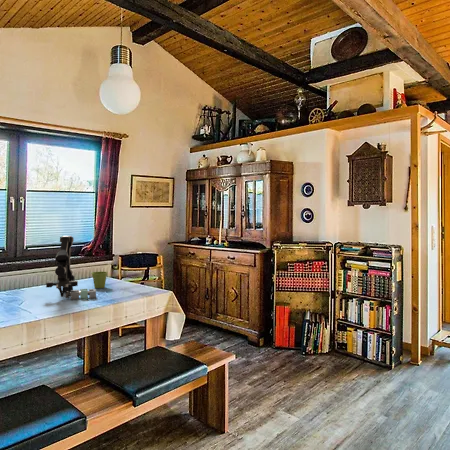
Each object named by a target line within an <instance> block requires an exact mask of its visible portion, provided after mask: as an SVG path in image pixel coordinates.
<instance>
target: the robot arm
mask: <svg viewBox="0 0 450 450" xmlns="http://www.w3.org/2000/svg"><path fill="white" fill-rule="evenodd" d="M74 241H75V240H74V236H72V235H62V236H61V237H60V236H59V243H60V248H59V251H58V252H57V253H56V256H55V262H54V266H57V267H56V269H55V270H54V273H55V274H56V276H57V280H56V282H54V280H53V281H47V282H46V283H45V288H52V287H55V289H58V291H59V294H60V297H61V298H63V296H64V294H65V293H66V291H69V292H71V290H74V287H78V286H79V285H78V280H76V279H75V275H74V274H73V271H72V269H71V247H72V246H73V243H74Z"/></svg>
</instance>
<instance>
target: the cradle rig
mask: <svg viewBox="0 0 450 450" xmlns="http://www.w3.org/2000/svg"><path fill="white" fill-rule="evenodd" d="M88 291H89V295H88V297H89V298H88V299H89V300H92V299H94V300H95V299H97V288H89V289H88ZM79 292H80V290H79V289H73V290H71V296H70V301H75V300H77V301H79V300H80V296H79Z"/></svg>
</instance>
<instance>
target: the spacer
mask: <svg viewBox="0 0 450 450" xmlns="http://www.w3.org/2000/svg"><path fill="white" fill-rule="evenodd" d="M88 291H89V289H88V288H81V289H80V290H79V292H80V296H79V300H87V299H89V298H88V297H89V295H88Z"/></svg>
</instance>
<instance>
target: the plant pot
mask: <svg viewBox="0 0 450 450" xmlns="http://www.w3.org/2000/svg"><path fill="white" fill-rule="evenodd" d="M107 275H108V271H93V272H91V276H92V279H93V286H94V289H103V288H105V287H106V280H107Z"/></svg>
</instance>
